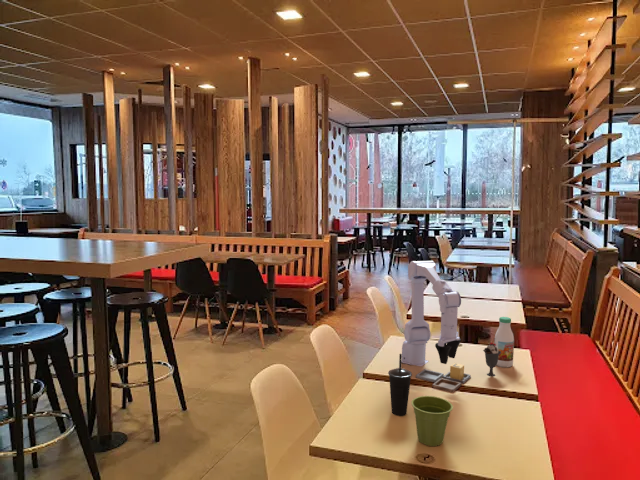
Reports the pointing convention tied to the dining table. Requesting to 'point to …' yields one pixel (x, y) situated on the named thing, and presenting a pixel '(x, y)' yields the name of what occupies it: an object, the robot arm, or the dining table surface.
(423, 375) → the left dish
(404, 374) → the drinking cup
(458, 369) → the letter cube
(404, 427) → the dining table surface
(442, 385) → the front dish
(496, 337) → the milk bottle
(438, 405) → the plant pot
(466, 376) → the back dish
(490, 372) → the sundae
